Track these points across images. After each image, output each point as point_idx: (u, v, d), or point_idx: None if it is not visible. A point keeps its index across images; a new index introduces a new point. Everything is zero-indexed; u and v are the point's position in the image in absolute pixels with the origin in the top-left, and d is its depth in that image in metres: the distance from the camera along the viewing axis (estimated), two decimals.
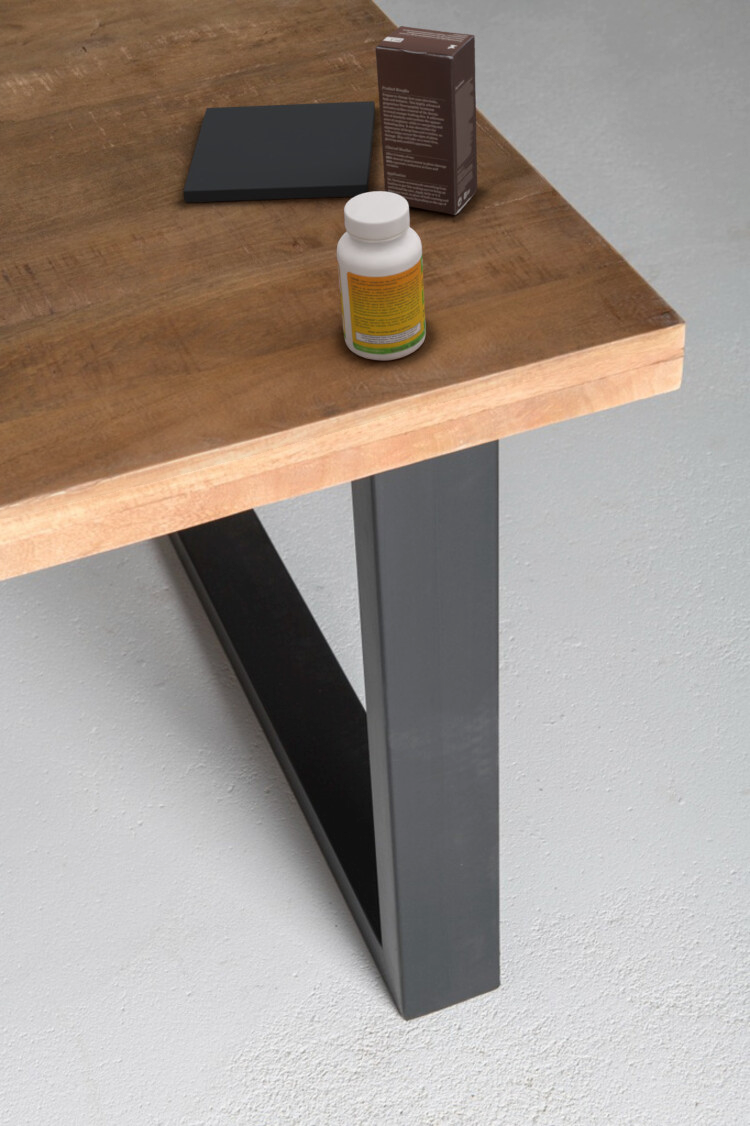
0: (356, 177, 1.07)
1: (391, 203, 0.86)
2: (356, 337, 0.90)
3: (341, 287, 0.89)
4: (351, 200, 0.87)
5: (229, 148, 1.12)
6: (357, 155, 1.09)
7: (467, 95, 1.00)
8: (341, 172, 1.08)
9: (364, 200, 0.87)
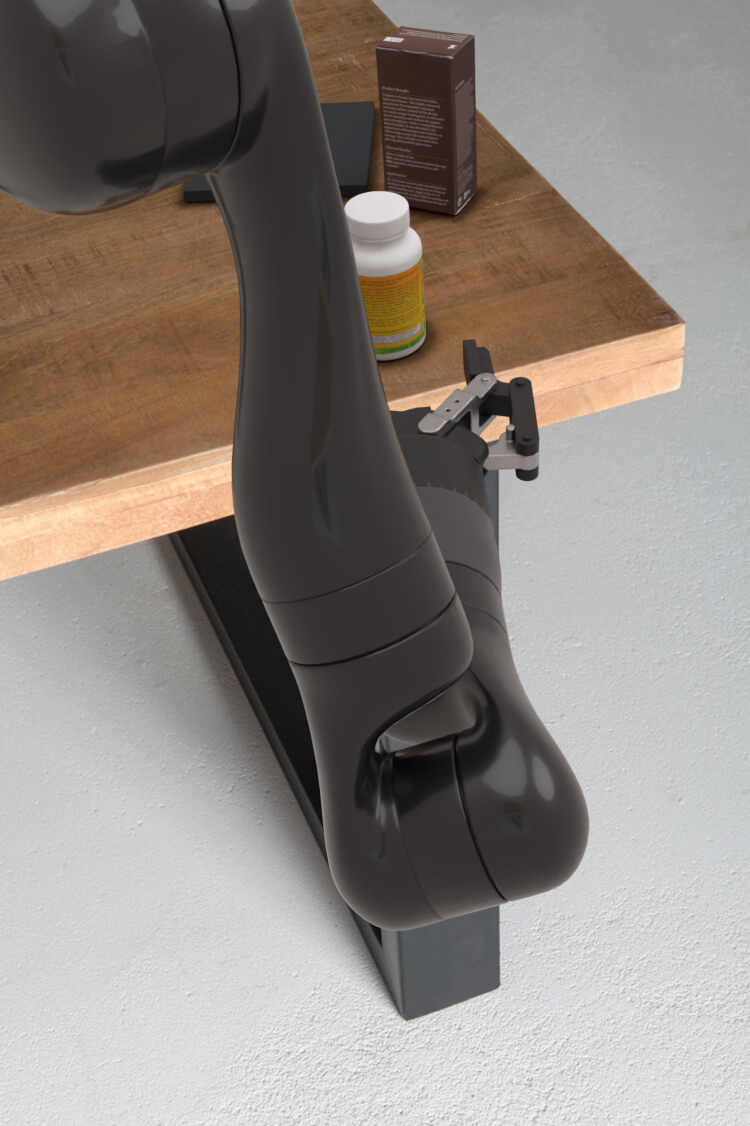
0: (356, 177, 1.07)
1: (391, 203, 0.86)
2: None
3: None
4: (351, 200, 0.87)
5: None
6: (357, 155, 1.09)
7: (467, 95, 1.00)
8: (341, 172, 1.08)
9: (364, 200, 0.87)
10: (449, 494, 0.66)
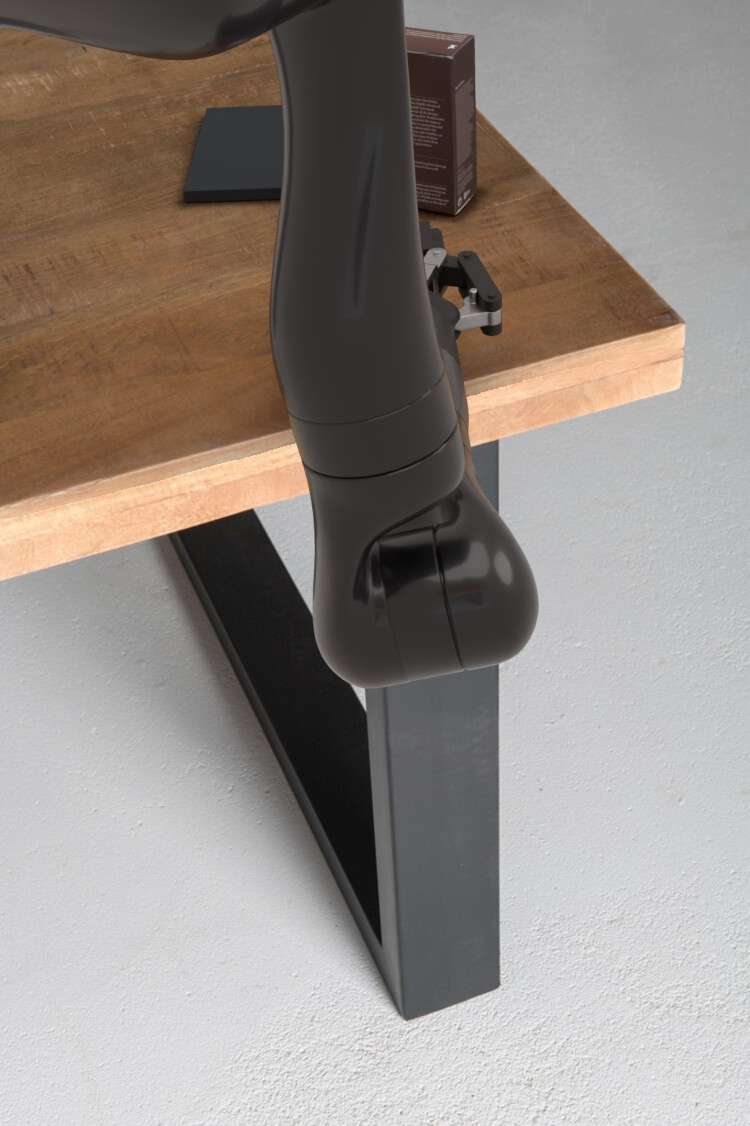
0: None
1: None
2: None
3: None
4: None
5: (229, 148, 1.12)
6: None
7: (467, 95, 1.00)
8: None
9: None
10: None
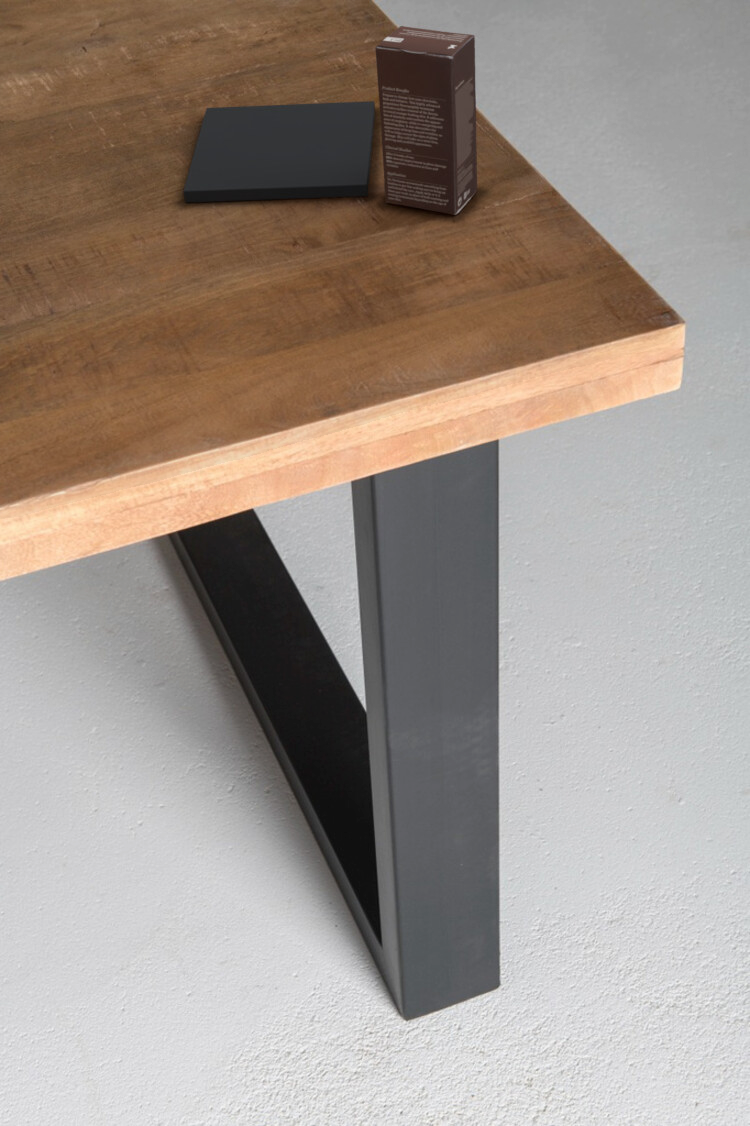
0: (356, 177, 1.07)
1: None
2: None
3: None
4: None
5: (229, 148, 1.12)
6: (357, 155, 1.09)
7: (467, 95, 1.00)
8: (341, 172, 1.08)
9: None
10: None
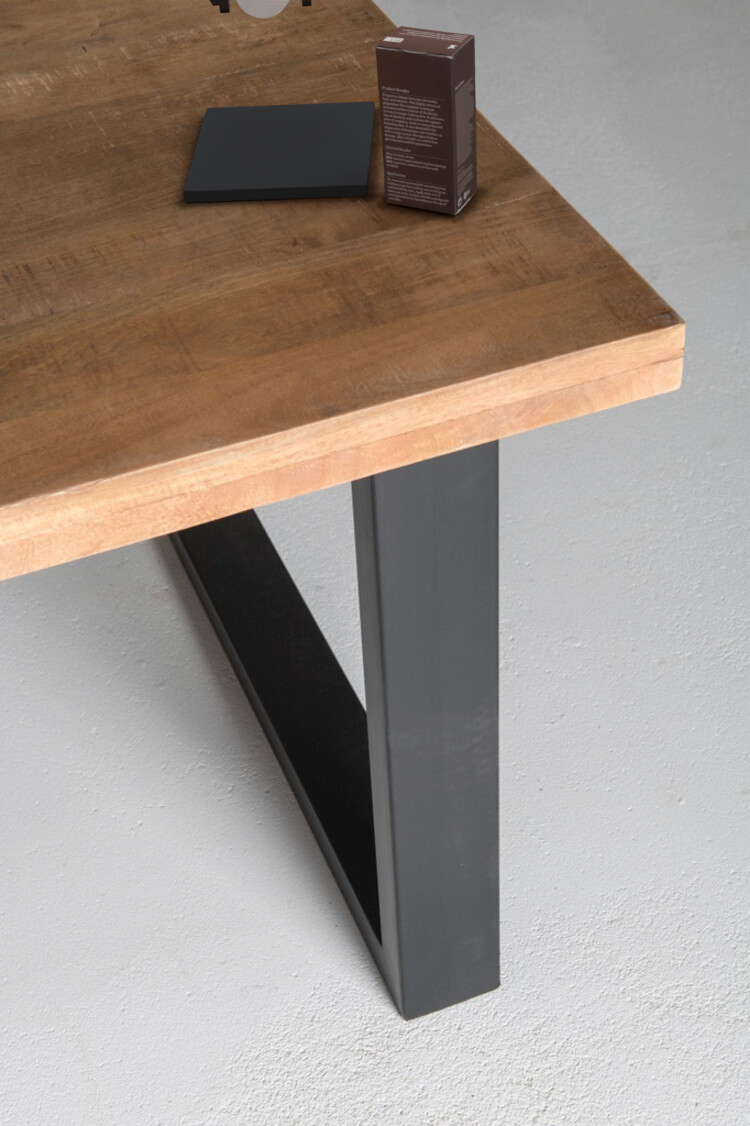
0: (356, 177, 1.07)
1: None
2: None
3: None
4: (284, 4, 1.00)
5: (229, 148, 1.12)
6: (357, 155, 1.09)
7: (467, 95, 1.00)
8: (341, 172, 1.08)
9: (272, 2, 1.00)
10: None
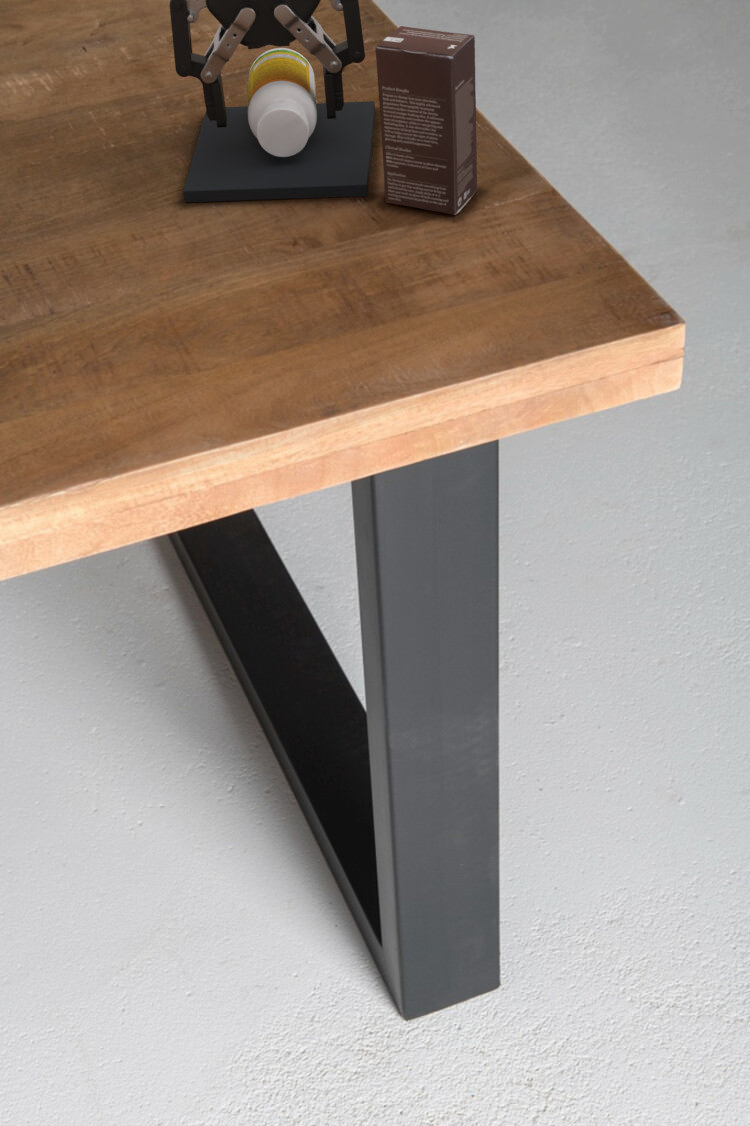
0: (356, 177, 1.07)
1: (270, 135, 1.07)
2: (305, 64, 1.12)
3: (315, 95, 1.10)
4: (302, 146, 1.08)
5: (229, 148, 1.12)
6: (357, 155, 1.09)
7: (467, 95, 1.00)
8: (341, 172, 1.08)
9: (291, 144, 1.08)
10: None
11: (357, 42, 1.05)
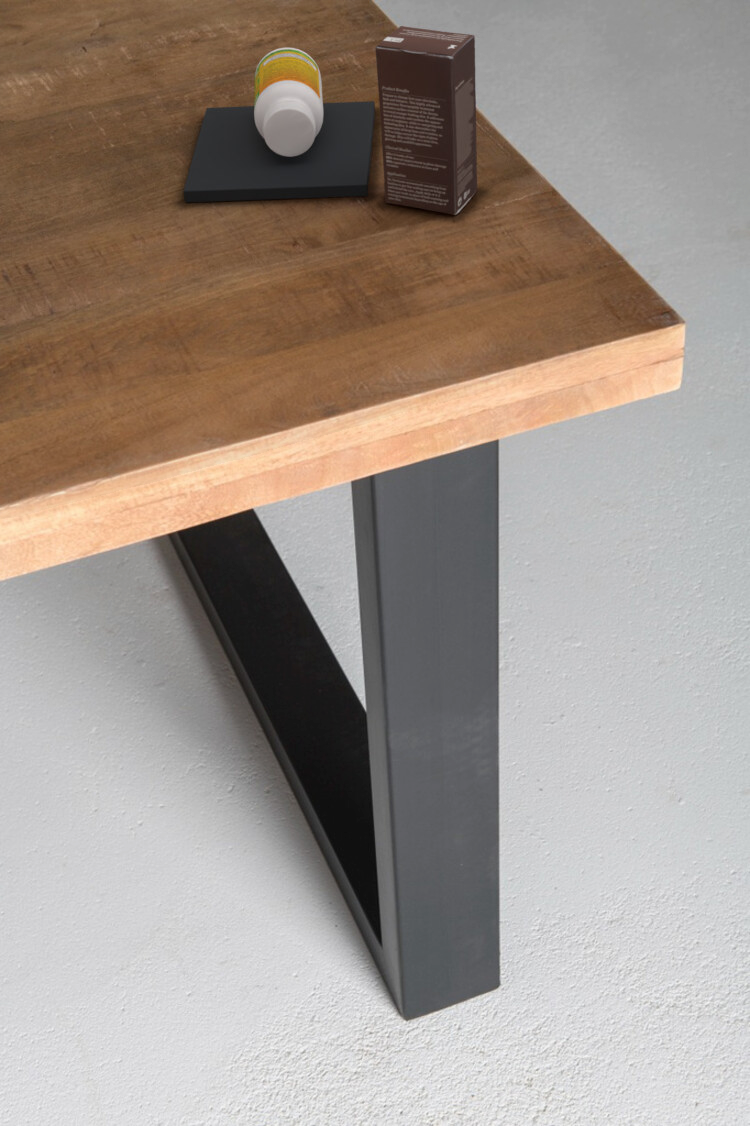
0: (356, 177, 1.07)
1: (276, 132, 1.07)
2: (316, 69, 1.12)
3: (322, 100, 1.11)
4: (305, 148, 1.08)
5: (229, 148, 1.12)
6: (357, 155, 1.09)
7: (467, 95, 1.00)
8: (341, 172, 1.08)
9: (295, 145, 1.08)
10: None
11: None
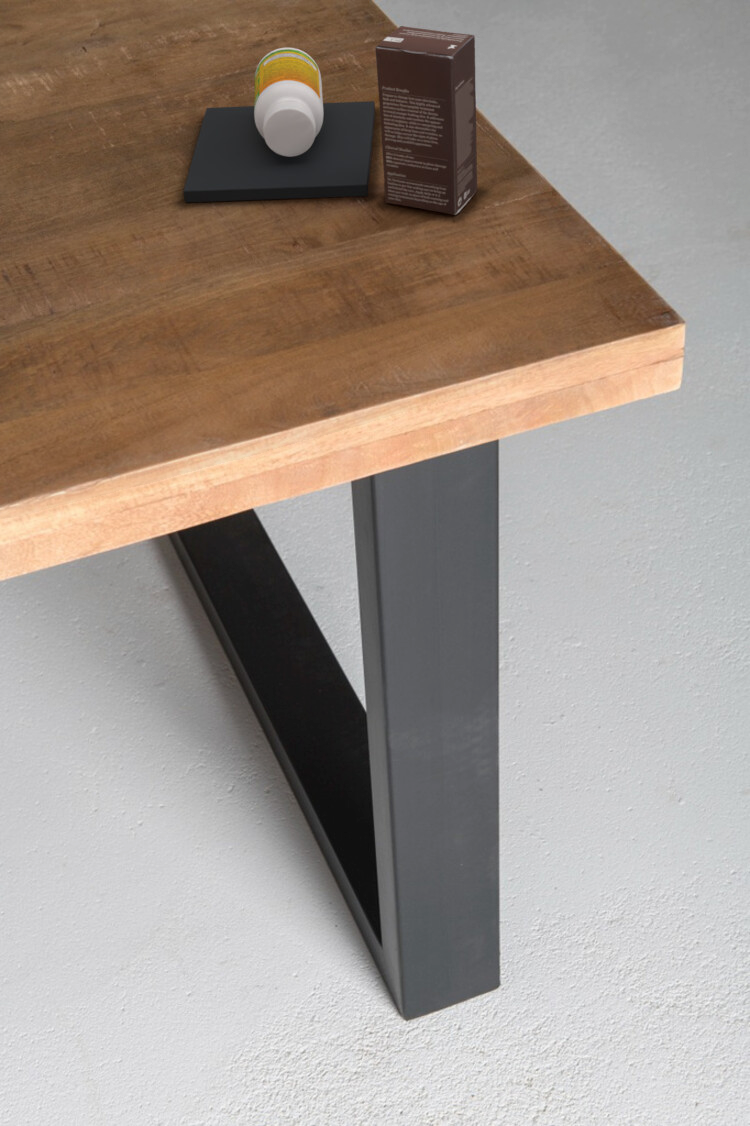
0: (356, 177, 1.07)
1: (276, 132, 1.07)
2: (316, 69, 1.12)
3: (322, 101, 1.11)
4: (305, 148, 1.08)
5: (229, 148, 1.12)
6: (357, 155, 1.09)
7: (467, 95, 1.00)
8: (341, 172, 1.08)
9: (295, 145, 1.08)
10: None
11: None
